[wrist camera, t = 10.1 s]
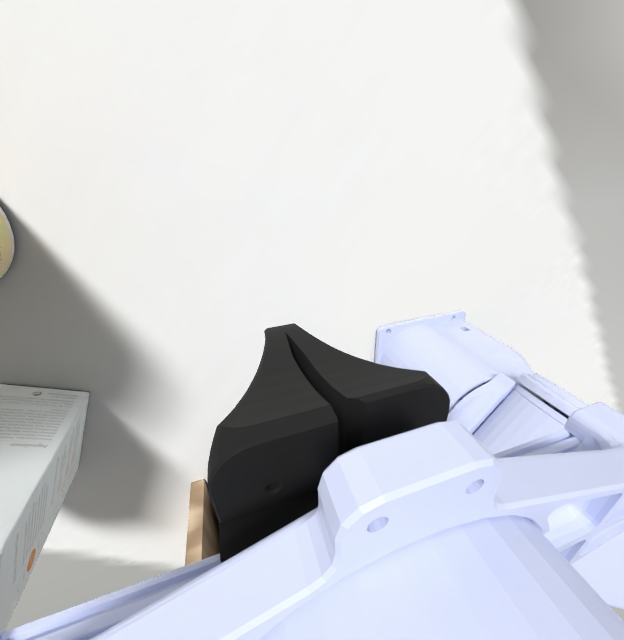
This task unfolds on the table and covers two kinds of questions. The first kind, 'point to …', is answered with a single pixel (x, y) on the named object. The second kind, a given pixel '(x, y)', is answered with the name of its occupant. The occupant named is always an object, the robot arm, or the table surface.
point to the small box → (33, 476)
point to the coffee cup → (5, 243)
